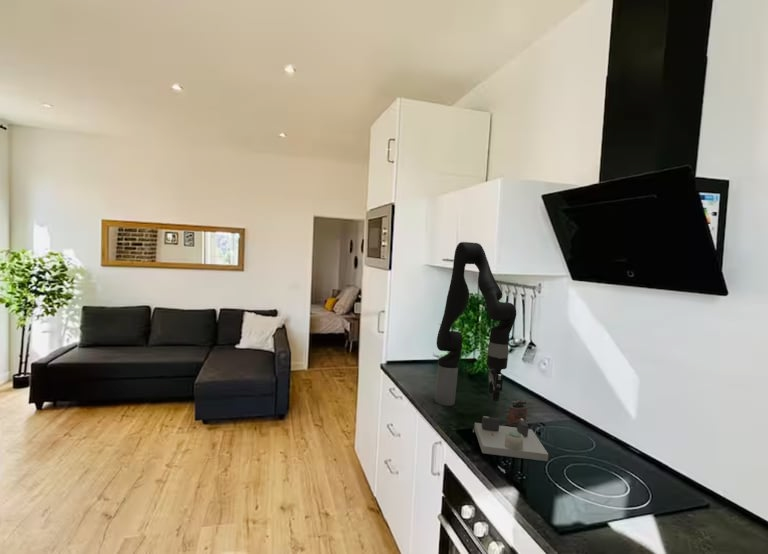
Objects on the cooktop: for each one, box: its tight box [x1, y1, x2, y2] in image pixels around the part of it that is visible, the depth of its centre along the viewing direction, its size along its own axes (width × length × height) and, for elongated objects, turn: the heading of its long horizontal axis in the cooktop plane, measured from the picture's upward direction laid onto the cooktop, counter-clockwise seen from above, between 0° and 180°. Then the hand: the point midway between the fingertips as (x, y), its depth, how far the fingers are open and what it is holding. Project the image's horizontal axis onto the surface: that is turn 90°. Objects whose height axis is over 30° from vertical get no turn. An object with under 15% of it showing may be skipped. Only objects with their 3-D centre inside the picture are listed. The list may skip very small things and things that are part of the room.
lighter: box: [507, 399, 529, 427], centre depth 166 cm, size 8×3×10 cm, turn 105°
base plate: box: [473, 422, 549, 462], centre depth 147 cm, size 20×22×7 cm
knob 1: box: [481, 415, 501, 431], centre depth 152 cm, size 2×6×4 cm, turn 85°
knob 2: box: [516, 418, 530, 437], centre depth 151 cm, size 2×6×4 cm, turn 175°
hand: (493, 396), depth 152 cm, fingers open, 8 cm apart
